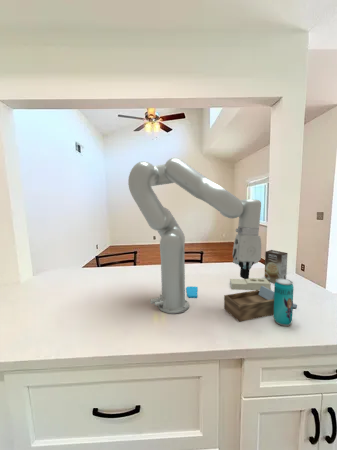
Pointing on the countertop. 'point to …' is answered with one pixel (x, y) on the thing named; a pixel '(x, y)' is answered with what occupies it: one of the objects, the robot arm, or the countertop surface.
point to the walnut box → (248, 305)
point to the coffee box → (275, 265)
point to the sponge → (192, 292)
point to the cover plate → (269, 294)
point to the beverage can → (283, 302)
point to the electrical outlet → (249, 283)
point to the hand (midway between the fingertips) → (244, 277)
